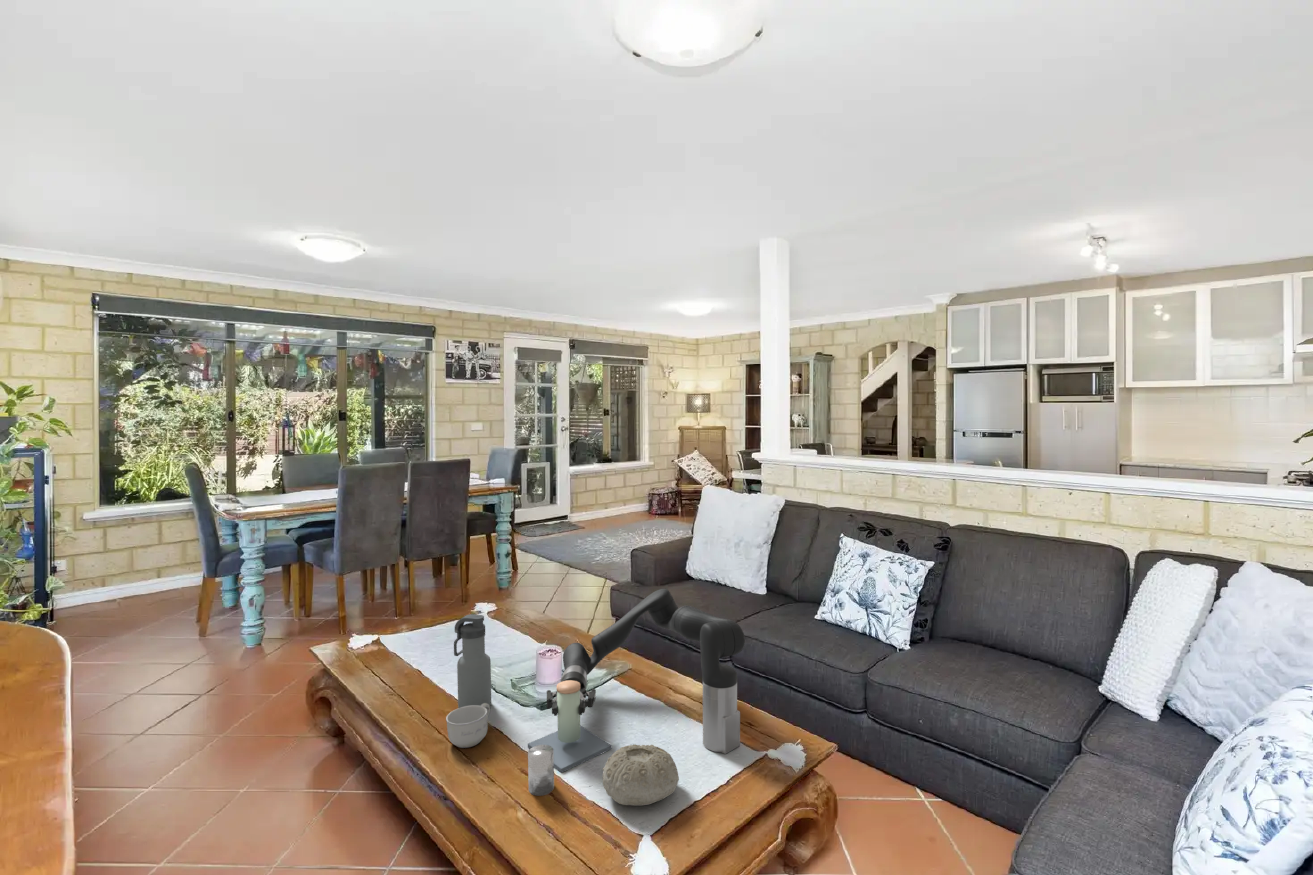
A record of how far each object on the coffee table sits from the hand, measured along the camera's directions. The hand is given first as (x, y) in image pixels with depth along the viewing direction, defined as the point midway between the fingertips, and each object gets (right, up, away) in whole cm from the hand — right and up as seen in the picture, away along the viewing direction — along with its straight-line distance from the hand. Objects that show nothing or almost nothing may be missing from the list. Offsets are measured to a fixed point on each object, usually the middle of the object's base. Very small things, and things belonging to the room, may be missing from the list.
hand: (567, 711), depth 165 cm
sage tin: (0, -8, +3) cm, 8 cm away
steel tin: (-4, -12, -15) cm, 19 cm away
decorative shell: (+20, -12, -17) cm, 29 cm away
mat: (0, -11, +3) cm, 11 cm away
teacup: (-27, -11, +8) cm, 31 cm away
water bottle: (-32, -10, +26) cm, 43 cm away
